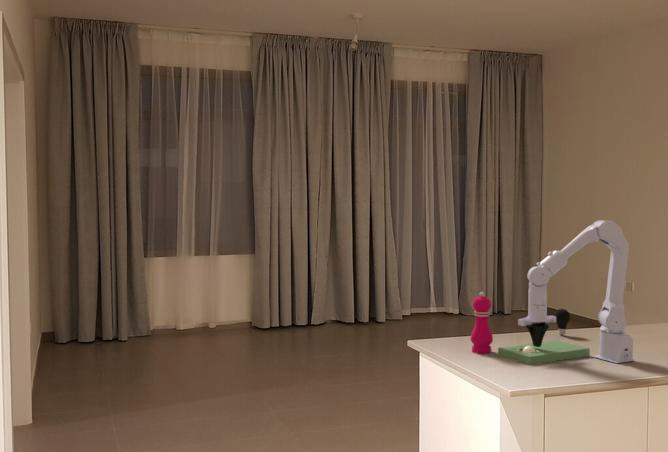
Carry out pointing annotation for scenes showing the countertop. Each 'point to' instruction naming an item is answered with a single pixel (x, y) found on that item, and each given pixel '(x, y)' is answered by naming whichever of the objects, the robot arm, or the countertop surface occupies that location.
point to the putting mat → (544, 352)
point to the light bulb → (562, 320)
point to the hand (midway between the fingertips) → (537, 346)
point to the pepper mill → (481, 325)
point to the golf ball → (528, 349)
